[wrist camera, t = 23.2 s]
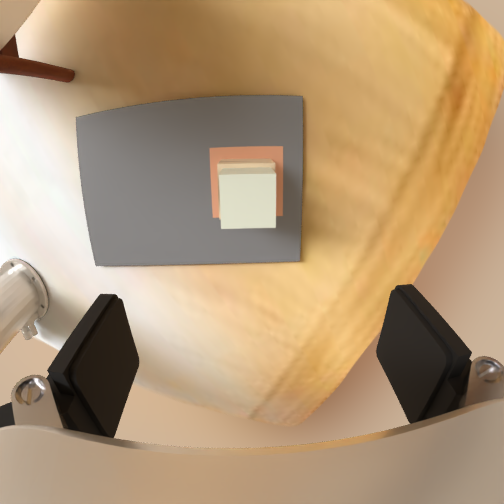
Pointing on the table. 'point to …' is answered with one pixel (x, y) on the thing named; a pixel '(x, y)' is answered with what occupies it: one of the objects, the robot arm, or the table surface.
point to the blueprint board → (187, 179)
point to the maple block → (242, 164)
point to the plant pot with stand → (5, 48)
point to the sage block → (247, 198)
